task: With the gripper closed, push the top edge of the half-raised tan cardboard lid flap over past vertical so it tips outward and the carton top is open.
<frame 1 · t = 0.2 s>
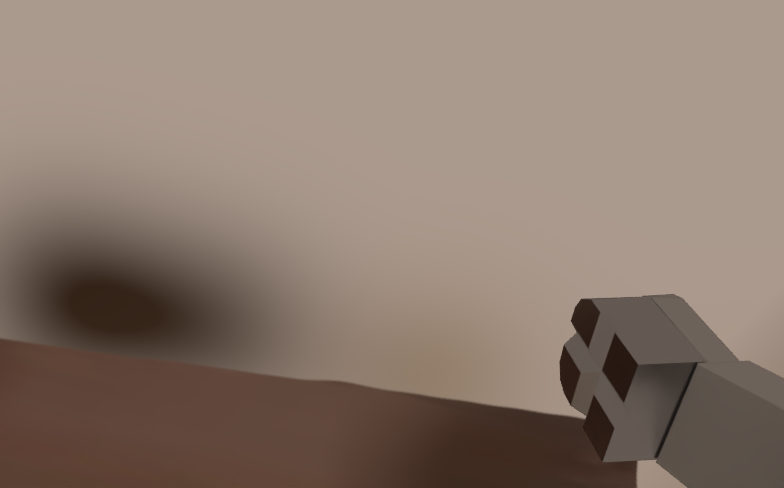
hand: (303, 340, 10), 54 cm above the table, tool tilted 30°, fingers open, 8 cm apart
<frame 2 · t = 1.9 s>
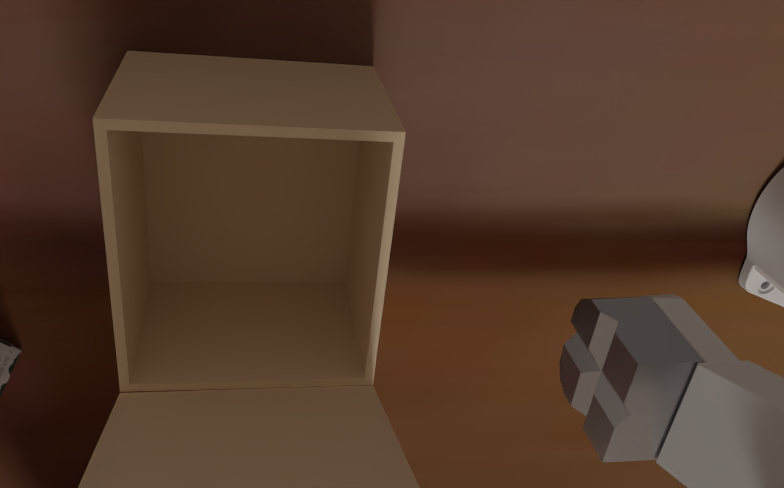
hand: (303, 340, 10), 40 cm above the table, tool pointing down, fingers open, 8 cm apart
carton: (252, 181, 52), on the table
carton flap: (251, 459, 37), point 21 cm above the table, hinge at 70.0°
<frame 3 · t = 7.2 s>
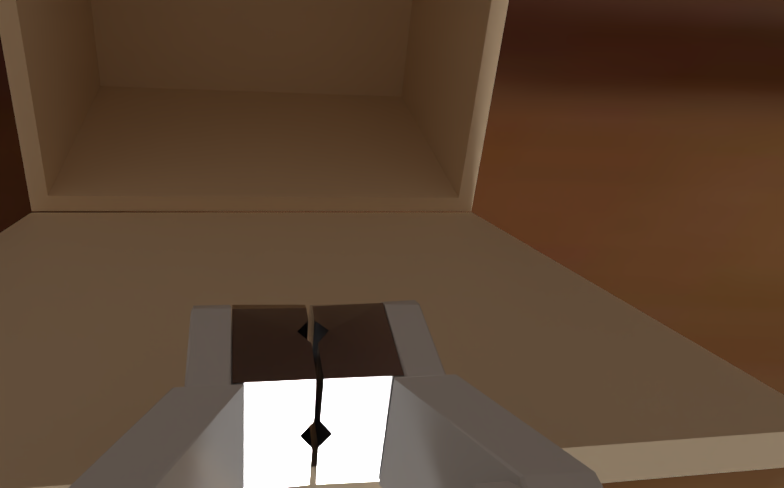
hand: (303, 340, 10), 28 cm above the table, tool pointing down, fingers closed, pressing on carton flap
carton flap: (278, 289, 18), point 21 cm above the table, hinge at 71.8°, touching gripper
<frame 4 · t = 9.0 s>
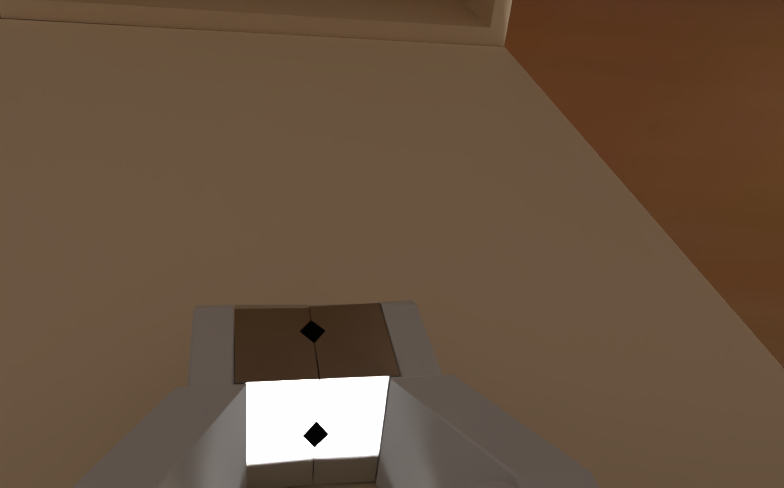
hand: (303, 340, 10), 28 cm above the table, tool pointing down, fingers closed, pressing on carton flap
carton flap: (285, 180, 16), point 21 cm above the table, hinge at 93.4°, touching gripper
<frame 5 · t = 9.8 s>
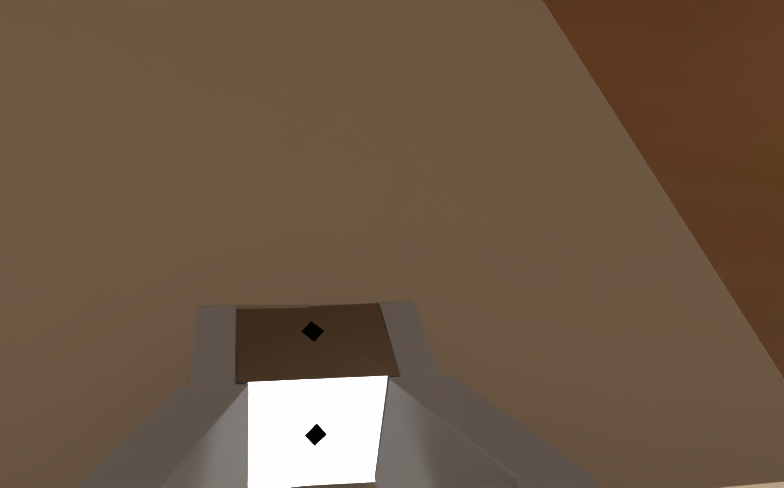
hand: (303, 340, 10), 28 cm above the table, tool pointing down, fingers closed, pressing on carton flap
carton flap: (279, 124, 15), point 21 cm above the table, hinge at 104.1°, touching gripper
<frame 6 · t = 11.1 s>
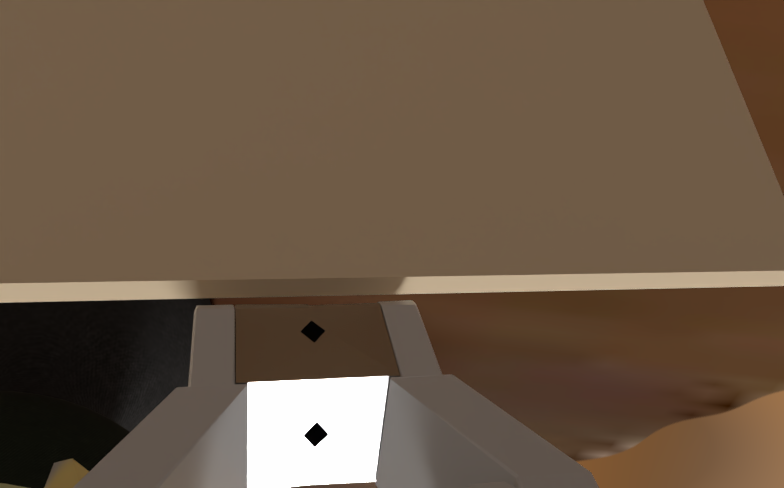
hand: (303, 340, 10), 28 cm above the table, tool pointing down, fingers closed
candelabra: (96, 341, 43), on the table
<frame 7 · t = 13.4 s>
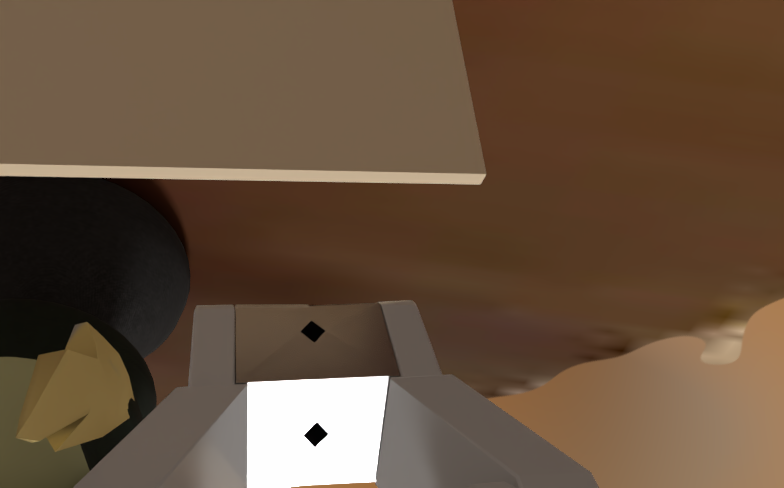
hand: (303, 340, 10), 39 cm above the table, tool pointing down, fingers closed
candelabra: (92, 283, 53), on the table
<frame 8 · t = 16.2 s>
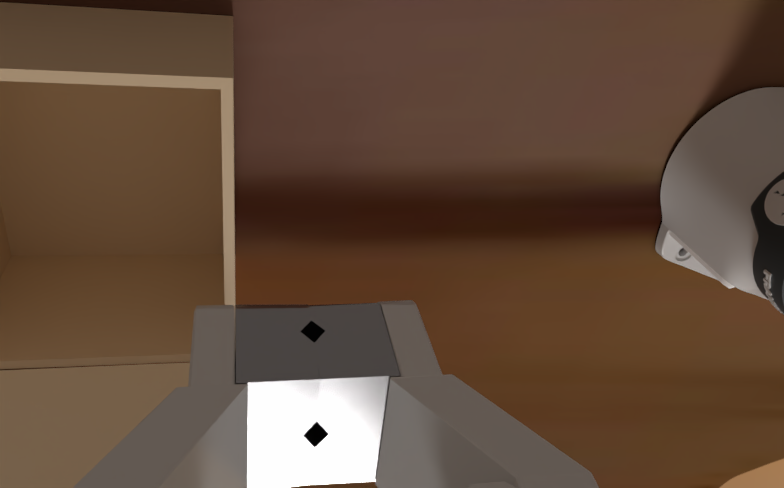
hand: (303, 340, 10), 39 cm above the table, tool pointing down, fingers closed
carton: (112, 144, 48), on the table
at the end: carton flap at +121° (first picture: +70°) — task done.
